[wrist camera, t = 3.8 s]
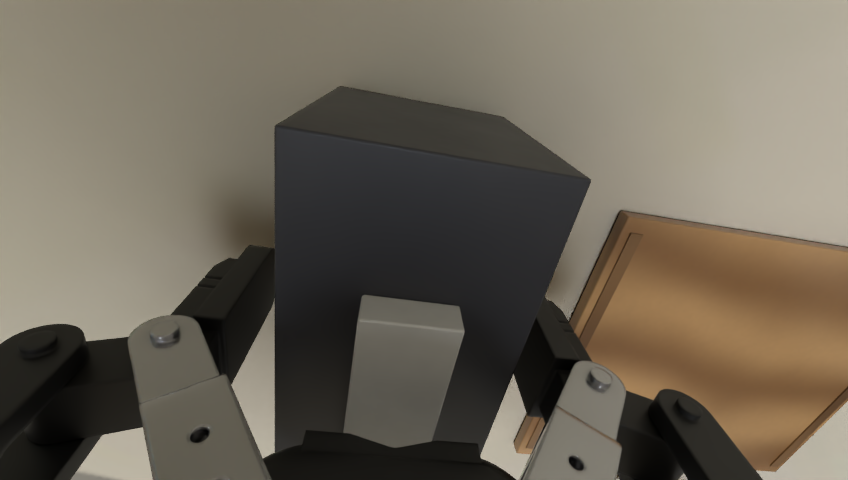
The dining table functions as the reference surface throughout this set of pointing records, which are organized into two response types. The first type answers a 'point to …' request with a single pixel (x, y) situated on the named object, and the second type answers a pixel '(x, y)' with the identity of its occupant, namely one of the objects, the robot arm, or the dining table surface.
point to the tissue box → (408, 265)
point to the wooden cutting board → (721, 328)
